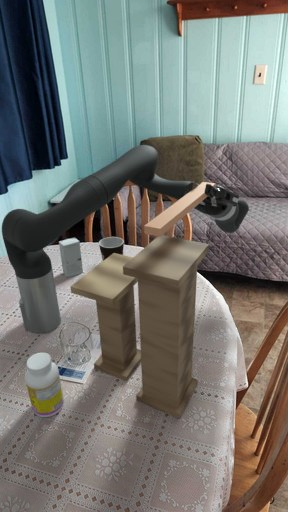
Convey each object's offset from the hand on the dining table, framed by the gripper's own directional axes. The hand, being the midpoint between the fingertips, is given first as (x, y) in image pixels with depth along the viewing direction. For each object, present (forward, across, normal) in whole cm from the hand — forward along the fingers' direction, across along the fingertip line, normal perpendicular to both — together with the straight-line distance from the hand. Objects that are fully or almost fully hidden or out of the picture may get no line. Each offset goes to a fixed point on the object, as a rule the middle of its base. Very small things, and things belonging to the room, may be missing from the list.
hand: (198, 187), depth 76 cm
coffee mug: (-39, +39, -24) cm, 61 cm away
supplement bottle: (+10, +18, -52) cm, 57 cm away
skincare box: (-30, +49, -29) cm, 65 cm away
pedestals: (-4, +4, -44) cm, 44 cm away
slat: (+5, 0, -6) cm, 8 cm away
